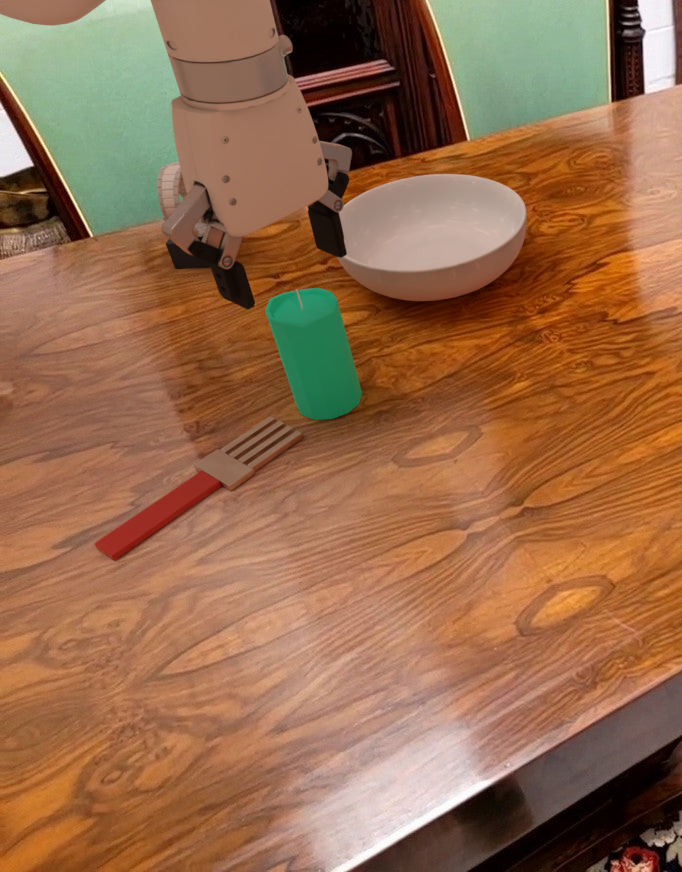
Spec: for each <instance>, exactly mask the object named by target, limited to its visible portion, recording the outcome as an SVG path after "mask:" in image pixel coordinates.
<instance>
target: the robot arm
mask: <svg viewBox="0 0 682 872" xmlns="http://www.w3.org/2000/svg"><path fill="white" fill-rule="evenodd" d="M106 1H107V0H0V15H2V16H5V17H7V18H10V19H13V20H16V21H20V22H24V23H28V24H32V25H38V26H51V27H52V26H61V25H66V24H68V25H69V24H71V23H74V22H76V21H79V20H81V19H83V18H84V17H86V16H87V15H88V14H90V13H91V12H92V11H94V10H96V9H97V8H98V7H99V6H100V5H102V4H103V3H104V2H106ZM150 3H151V6H152V10H153V13H154V15H155V18H156V22H157V25H158V28H159V31H160V35H161V37H162V41H163V44H164V48H165V50H166V53H167V57H168V60H169V62H170V66H171V69H172V73H173V75H174V78H175V82H176V85H177V87H178V91H179V94H180V95H179V96H177V97H175V98H173V99H171V103H170V104H171V120H172V131H173V137H174V144H175V149H176V153H177V154H176V155H177V160H178V162H179V164H180V168H181V172H182V177H183V180H184V184H185V188H186V192H187V195H186V196H185V198H184V199H183V198H182V200H181V201H180V204H178V206H177V207H176V209H175V210H174V211H173V212H172V214H171V215H170V216H169V217H168V218H167V220H166V221H163V223H162V225H161V228H160V229H161V232H162V234H163V235H165V237H167V238H168V240H169V239H170V240H172V241H173V242H174V243H175V244H176V245H177V246H179V247H180V248H181V250H182V251H184V252H186V253H188V254H190V255H192V256H194V257H197V258H199V259H202V260H204V261H207V262H209V264H210V267H209V268H210V270H211V274H212V276H213V279H214V281H215V285H216V287H217V290H218V293H219V294H220V296H221V297H222V298H223V299H224V300H227V301H228V302H230V303H233V304H235V305H237V306H239V307H241V308H243V309H245V310H251V309H252V308H254V307H255V304H256V300H255V298H254V294H253V291H252V288H251V285H250V282H249V279H248V276H247V275H248V274H247V272H246V269H245V266H244V265H243V263H241V262H239V261H238V260H236V259H237V256H238V253H239V251H240V248H241V244H242V241H243V239H244V237H246V236H249V235H251V234H253V233H255V232H258V231H260V230H262V229H264V228H266V227H268V226H271V225H272V224H275V223H277V222H279V221H280V220H283V219H285V218H287V217H289V216H290V215H293V214H294V213H297V212H299V211H301V210H303V209H304V208H306V207H307V215H308V219H309V223H310V227H311V230H312V235H313V240H314V243H315V246H316V249H318V250H319V251H322V252H325V253H326V254H329V255H332V256H334V257H335V258H337V257H340V258H342V257H344V256H346V255H347V252H346V247H345V243H344V234H343V229H342V225H341V220H340V216H339V212H340V211H342V209H343V207H344V205H345V202H344V200H343V197H344V196H345V193H346V191H347V188H348V185H349V184H350V177H349V175H348V174H349V173H348V172H350V168H351V162H352V161H351V160H352V156H353V151H352V149H351V148H350V147H349V146H345V145H343V144H339V143H335V142H329V141H322V140H320V139H319V136H318V132H317V129H316V126H315V124H314V121H313V118H312V115H311V112H310V109H309V107H308V105H307V102H306V100H305V98H304V96H303V93H302V91H301V88H299V85H298V83H297V81H296V79H295V78H294V77H293V75H291V74H288V71H287V63H286V61H285V57H286V56H287V55H289V54H291V53H292V52H293V50H294V46H293V43H292V41H291V39H290V37H288V36H287V35H285V34H280V35H279V33H278V30H277V26H276V21H275V17H274V13H273V8H272V3H271V0H150ZM325 160H327V161H328V165H327V166H328V169H327V166H326V161H325ZM198 221H199V222H200V223H203V224H207V227H206V229H205V232H204V235H203V238H202V241H200V240H199V239H198V238H197V237H196V236H195V235H194V234H193V228H194V226H195V225H196V223H197V222H198ZM224 232H225V236H224V239H223V242H222V245H221V248H220V249H218V247H219V244H220V242H221V239H222V236H223V233H224Z"/></svg>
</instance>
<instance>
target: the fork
mask: <svg viewBox="0 0 682 872" xmlns="http://www.w3.org/2000/svg"><path fill="white" fill-rule="evenodd" d="M303 438H304V434H303V432H302V431H300V430H298V429H296V430H294V427H292V426H291V425H286V423H285V422H283V421H281V420H277V419H276V418H275V417H273V416H272V415H269V416H268V417H266V418H265V419H263V420H262V421H260V422H259V423H256V425H254V426H252V427H251V428H250V429H248V430H246V431H245V432H244V433H243V434H241V435H239V436H238V437H237V438H235V439H233V440H231V442H229V443H228V444H226V445H224V446H223V447H222V448H220V449H219V448H216V449H215V450H213V451H212V452H211V453H209V454H207V455H206V456H205V457H203V458H201V459H200V460H198V461H197V462H196V463H194V464H193V467H194V469H195V470H196V471H198V472H197V473H196V474H194V475H193V476H191V477H190V478H189V479H187V480H185V481H184V482H182V483H180V485H178V486H177V487H174V489H172V490H171V491H169V492H168V493H166V494H165V495H164V496H162V497H160V498H159V499H157V500H156V501H154V502H153V503H152V504H150V505H149V506H147V507H145V508H144V509H143V510H141V511H139V512H138V513H136V514H135V515H134V516H132V517H130V518H129V519H128V520H126V521H125V522H123V523H122V524H121V525H119V526H118V527H115V529H113V530H112V531H110V532H108V533H107V534H105V535H104V536H102V537H101V538H100V539H98V540H97V541H95V542H94V543H93V544H94V546H95V548H96V550H99V551H100V552H101V553H103V554H104V555H106V556H107V557H108V558H110V559H111V560H112V561H116V560H118V559H119V558H120V557H122V556H123V555H125V554H127V553H128V552H129V551H131V550H132V549H133V548H135V547H136V546H138V545H139V544H141V543H142V542H143V541H145V540H146V539H148V538H149V537H150V536H152V535H153V534H155V533H156V532H158V531H159V530H160V529H162V528H164V527H166V525H168V524H169V523H171V522H172V521H173V520H175V519H176V518H178V517H179V516H180V515H182V514H183V513H185V512H187V511H188V510H190V509H191V508H192V507H193V506H195V505H197V503H199V502H200V501H201V502H202V500H204V499H205V498H207V497H208V496H209V495H211V494H213V492H215V491H216V490H218V489H219V488H221V487H224V488H225V489H227V490H229V491H231V492H232V491H234V490H235V489H236V488H238V487H239V486H241V485H242V484H243V483H245V482H247V481H248V480H249V479H250V478H252V477H253V476H254V475H256V472H257V471H258V470H260V469H262V468H263V467H264V466H265V465H267V464H268V463H269V462H271V461H272V460H274V459H275V458H277V457H279V455H281V454H282V453H284V452H285V451H287V450H288V449H289V448H291V447H293V446H294V445H295V444H297V443H298V442H300V441H301V440H302V439H303Z"/></svg>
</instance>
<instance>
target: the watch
mask: <svg viewBox="0 0 682 872" xmlns="http://www.w3.org/2000/svg"><path fill="white" fill-rule="evenodd" d="M156 187H157V189H156V190H157V196H158V204H159V208H160V210H161V213H162V216H163V217H162V219H163V222H165V221H166V220H167V218H168V217H169V216H170V215H171V214H172V212H173V211H174V210H175V209H176V207H177V206H178V205H179V204H180V203H181V201H180V197H181V198H182V200H183V199H184V198H185V196H186V195H187V192H186V188H185V184H184V180H183V177H182V172H181V168H180V164H179V161H174V162H171V163H168V164H167V165H162V166H161V169H160V170H159V173H158V175H157V181H156ZM206 227H207V224H203V223H200V222H199V221H198V222H197V223H196V225H195V226H194V228H193V234H194V235H195V236H196V237H197V238H198V239H199V240H200V241H202V238H203V235H204V232H205V229H206ZM224 236H225V232H224V233H223V236H222V239H221V242H220V244H219V247H218V249H220V248H221V245H222V242H223V239H224ZM165 246H166V249H167V251H168V254H169V256H170V259H171V262H172V264H173V267H174V269H205V268H211V267H210V264H209V262H207V261H204V260H202V259H199V258H197V257H194V256H192V255H190V254H188V253H186V252H184V251H182V250H181V248H180V247H179V246H177V245H176V244H175V243H174V242H173V241H172V240H170V239H169V238H168V239H167V240H166V242H165Z"/></svg>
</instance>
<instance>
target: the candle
mask: <svg viewBox="0 0 682 872" xmlns="http://www.w3.org/2000/svg"><path fill="white" fill-rule="evenodd" d="M264 313H265V315H266V318H267V320H268V324H269V327H270V330H271V333H272V336H273V339H274V342H275V346H276V349H277V352H278V354H279V357H280V361H281V364H282V366H283V370H284V372H285V375H286V379H287V382H288V384H289V388H290V390H291V394H292V397H293V401H294V403H295V406H296V408H297V410H298V412H299V413H300V415H301V416H303V417H306V418H308V419H311V420H314V421H316V420H318V421H319V420H320V421H321V420H333V419H335V418H339V417H342V416H344V415H345V416H346V415H347V414H349V413H351V411H353V409H355V408H356V407H357V406H358V405H359V404H360V402H361V399H362V396H363V391H362V388H361V387H362V386H361V384H360V383H361V382H360V380H359V376H358V372H357V369H356V363H355V361H354V358H353V354H352V350H351V346H350V342H349V338H348V334H347V330H346V328H345V324H344V319H343V317H342V312H341V309H340V304H339V301H338V298H337V297H336V295H335V293H334V292H332V290H331V291H330V290H327V289H324V288H321V287H313V288H302V289H298V288H295V290H292V291H285V292H282V293H280V294H278V295H275V296H273V297H270V298H269V299H268V302H267V305H266V307H265V309H264Z"/></svg>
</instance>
